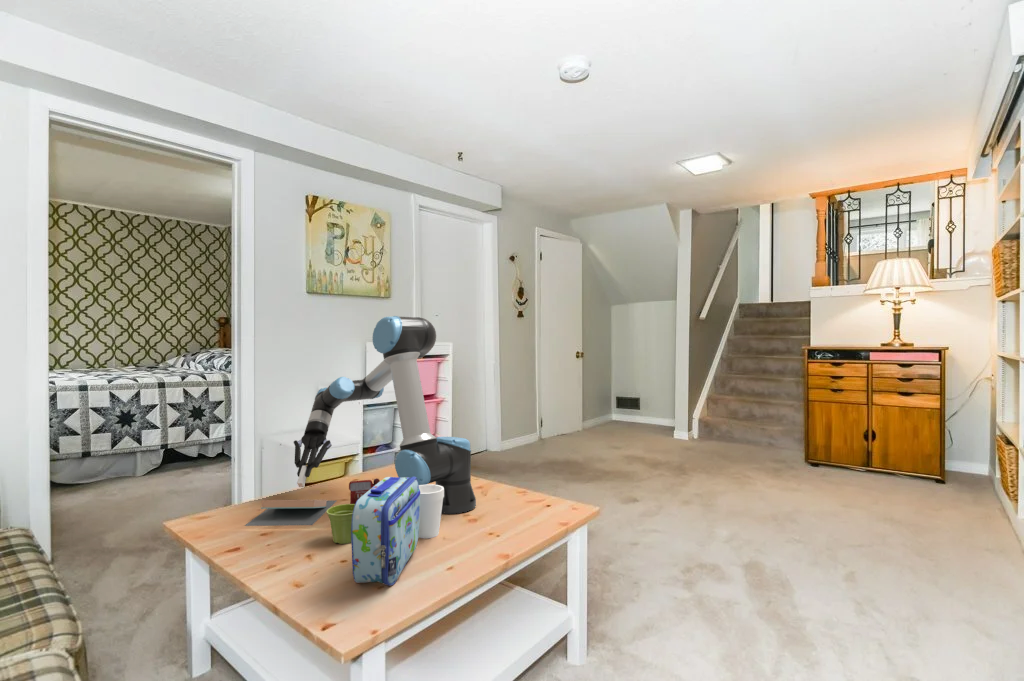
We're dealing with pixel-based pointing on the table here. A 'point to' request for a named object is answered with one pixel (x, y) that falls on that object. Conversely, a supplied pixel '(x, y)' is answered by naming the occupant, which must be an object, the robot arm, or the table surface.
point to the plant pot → (341, 522)
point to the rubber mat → (290, 516)
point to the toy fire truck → (360, 489)
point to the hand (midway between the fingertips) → (300, 485)
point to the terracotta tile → (292, 504)
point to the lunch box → (385, 530)
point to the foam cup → (430, 510)
